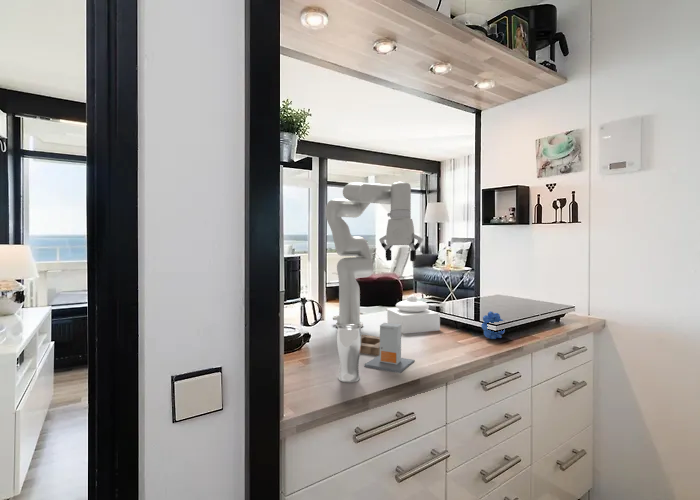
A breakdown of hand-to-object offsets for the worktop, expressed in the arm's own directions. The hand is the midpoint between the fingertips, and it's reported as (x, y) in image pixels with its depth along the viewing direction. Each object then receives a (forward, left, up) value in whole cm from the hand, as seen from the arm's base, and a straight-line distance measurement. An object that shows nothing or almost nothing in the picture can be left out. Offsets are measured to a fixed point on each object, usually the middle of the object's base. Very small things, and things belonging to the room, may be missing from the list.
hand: (400, 260), depth 140 cm
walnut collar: (-8, -10, -32) cm, 35 cm away
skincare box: (+6, -23, -32) cm, 39 cm away
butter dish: (-6, +27, -33) cm, 43 cm away
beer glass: (+1, -40, -32) cm, 52 cm away
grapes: (+30, +24, -32) cm, 50 cm away
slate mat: (+6, -23, -32) cm, 40 cm away
